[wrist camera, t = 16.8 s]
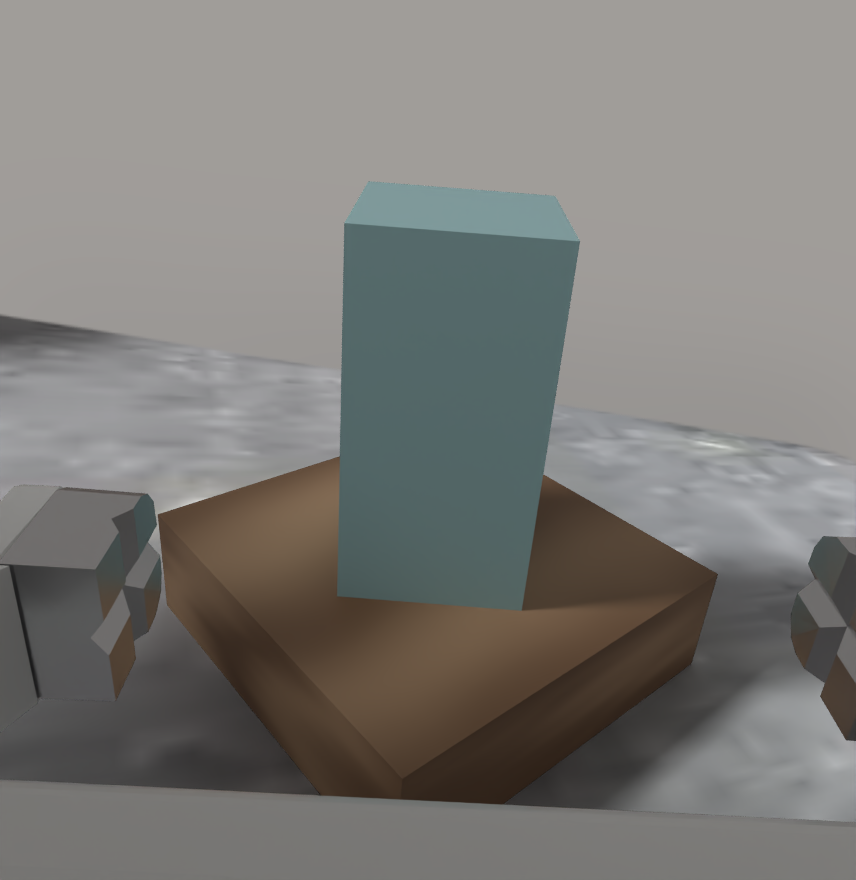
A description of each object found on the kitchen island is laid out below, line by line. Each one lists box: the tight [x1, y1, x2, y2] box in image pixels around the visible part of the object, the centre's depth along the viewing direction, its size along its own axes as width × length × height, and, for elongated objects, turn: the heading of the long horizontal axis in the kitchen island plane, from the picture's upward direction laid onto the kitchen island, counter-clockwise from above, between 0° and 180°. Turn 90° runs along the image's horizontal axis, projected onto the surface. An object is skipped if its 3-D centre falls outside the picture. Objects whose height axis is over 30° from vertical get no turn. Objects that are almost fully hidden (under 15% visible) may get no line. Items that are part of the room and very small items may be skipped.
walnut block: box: [158, 457, 718, 805], centre depth 25 cm, size 12×12×4 cm
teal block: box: [337, 181, 580, 611], centre depth 21 cm, size 5×5×10 cm
